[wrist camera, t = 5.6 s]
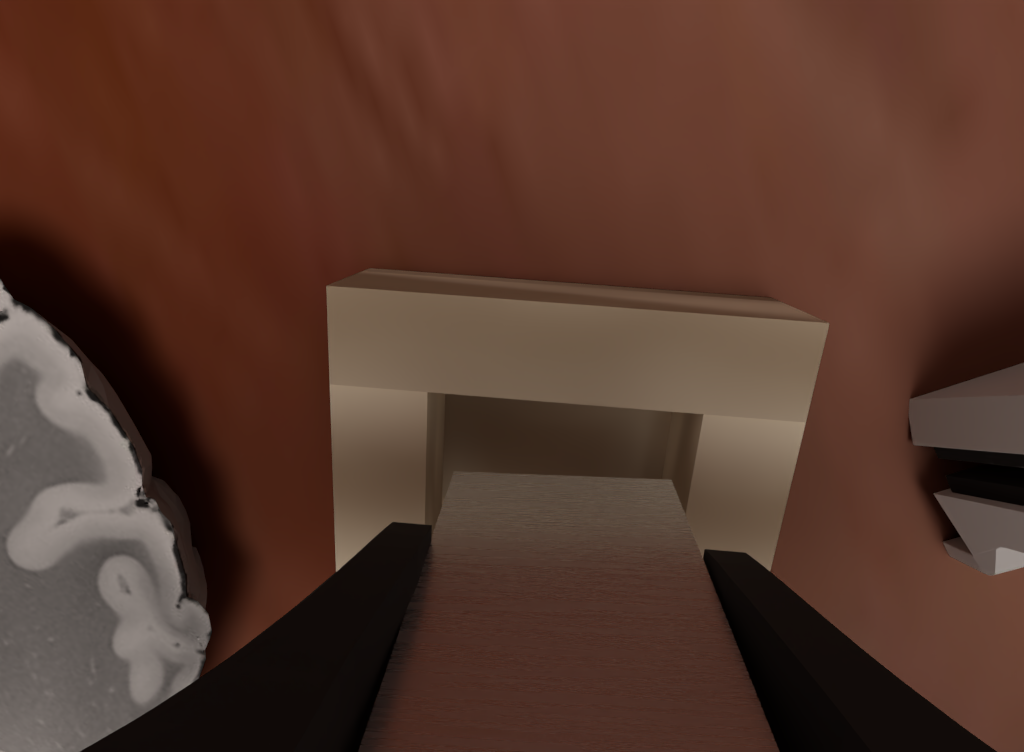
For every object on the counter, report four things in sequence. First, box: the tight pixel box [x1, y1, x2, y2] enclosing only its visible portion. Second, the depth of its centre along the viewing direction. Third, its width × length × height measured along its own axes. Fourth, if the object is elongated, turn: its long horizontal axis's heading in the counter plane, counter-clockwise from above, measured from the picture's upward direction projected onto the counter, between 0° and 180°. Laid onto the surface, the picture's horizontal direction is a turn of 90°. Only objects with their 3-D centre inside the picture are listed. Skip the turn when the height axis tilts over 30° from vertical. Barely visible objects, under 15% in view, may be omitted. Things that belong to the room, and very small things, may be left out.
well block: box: [326, 268, 829, 572], centre depth 14 cm, size 10×10×3 cm
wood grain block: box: [358, 471, 779, 752], centre depth 8 cm, size 4×4×6 cm
